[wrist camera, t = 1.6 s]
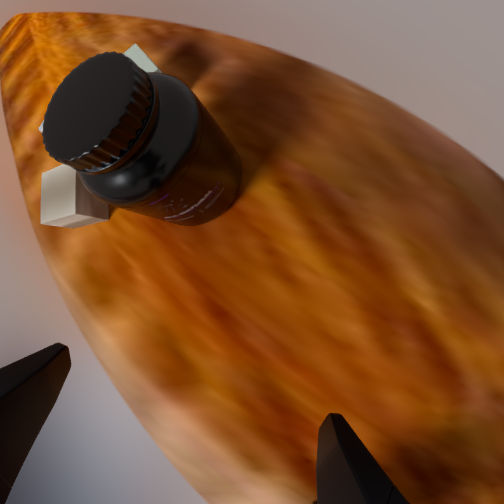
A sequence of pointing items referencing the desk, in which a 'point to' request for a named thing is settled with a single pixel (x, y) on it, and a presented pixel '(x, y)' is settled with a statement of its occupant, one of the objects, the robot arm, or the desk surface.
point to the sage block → (141, 59)
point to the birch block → (69, 200)
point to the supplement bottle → (141, 141)
